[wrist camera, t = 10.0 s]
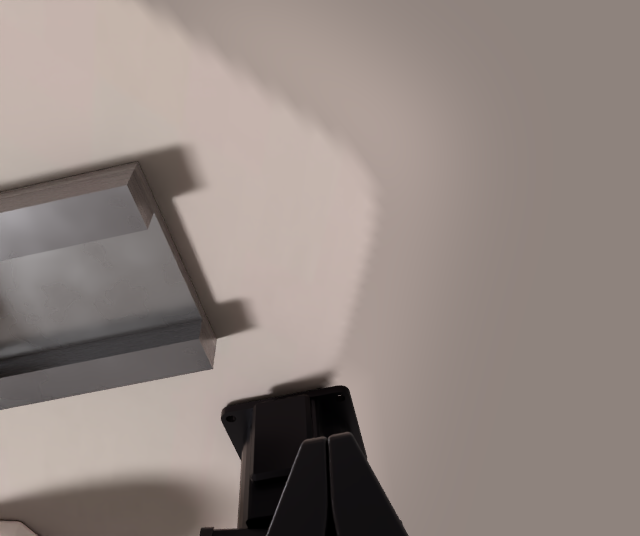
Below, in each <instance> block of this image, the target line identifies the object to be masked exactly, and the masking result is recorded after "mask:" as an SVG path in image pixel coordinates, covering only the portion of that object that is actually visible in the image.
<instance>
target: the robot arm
mask: <svg viewBox="0 0 640 536" xmlns="http://www.w3.org/2000/svg"><path fill="white" fill-rule="evenodd" d="M338 395H341V396H338ZM221 421H222V423H223V425H224V427H225V429H226V431H227V433H228V435H229V437H230V439H231V441H232V443H233V445H234V447H235V449H236V451H237V453H238V455H239V457H240V459H241V477H240V492H239V508H238V524H237V529H214V527H204V528H201V531H200V536H408V534H407V532H406V530H405V529H404V527H403V524H402V521H401V520H400V519H399V517H398V516H397V514H396V512H395V510H394V509H393V507H392V505H391V503H390V501H389V500H388V498H387V496H386V494H385V492H384V490H383V489H382V487H381V485H380V483H379V481H378V479H377V478H376V476H375V474H374V472H373V471H372V469H371V467H370V465H369V463H368V461H367V455H366V451H365V448H364V444H363V440H362V436H361V433H360V429H359V425H358V421H357V417H356V414H355V410H354V407H353V403H352V399H351V395H350V391H349V389H348V388H347V387H345V386H342V385H341V386H333V387H328V388H322V389H317V390H312V391H306V392H301V393H296V394H291V395H285V396H280V397H275V398H269V399H264V400H259V401H253V402H248V403H243V404H237V405H232V406H228V407H225V408H224V409H223V410H222V412H221Z"/></svg>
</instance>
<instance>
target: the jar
mask: <svg viewBox="0 0 640 536" xmlns="http://www.w3.org/2000/svg"><path fill="white" fill-rule="evenodd" d="M0 536H38V535H37V534H35V533H34V532H33V531H31V530H30V529H29V528H28V527H26V526H25V525H24V524H23V523H21V522H19V521H0Z"/></svg>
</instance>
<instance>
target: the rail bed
mask: <svg viewBox="0 0 640 536" xmlns="http://www.w3.org/2000/svg"><path fill="white" fill-rule="evenodd" d="M216 341H217V339H216V337H215V335H214V332H213V330H212V328H211V326H210V323H209V321H208V319H207V317H206V314H205V312H204V310H203V307H202V305H201V303H200V301H199V298H198V296H197V294H196V292H195V289H194V287H193V285H192V283H191V280H190V278H189V276H188V274H187V271H186V269H185V267H184V264H183V262H182V260H181V258H180V255H179V253H178V251H177V249H176V246H175V244H174V242H173V240H172V237H171V235H170V233H169V231H168V228H167V226H166V224H165V222H164V219H163V217H162V215H161V212H160V210H159V208H158V206H157V203H156V201H155V199H154V197H153V194H152V192H151V190H150V188H149V185H148V183H147V181H146V179H145V176H144V174H143V172H142V169H141V167H140V165H139V163H138V161H137V162H133V163H129V164H124V165H120V166H115V167H111V168H106V169H102V170H97V171H93V172H88V173H84V174H80V175H75V176H71V177H66V178H62V179H57V180H53V181H48V182H44V183H39V184H35V185H30V186H26V187H22V188H17V189H13V190H8V191H4V192H0V410H3V409H8V408H13V407H18V406H23V405H28V404H34V403H39V402H44V401H49V400H54V399H59V398H65V397H70V396H75V395H80V394H85V393H90V392H96V391H101V390H106V389H111V388H116V387H122V386H127V385H132V384H137V383H142V382H147V381H153V380H158V379H163V378H168V377H173V376H178V375H184V374H189V373H194V372H199V371H204V370H209V369H213V364H214V357H215V349H216Z"/></svg>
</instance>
